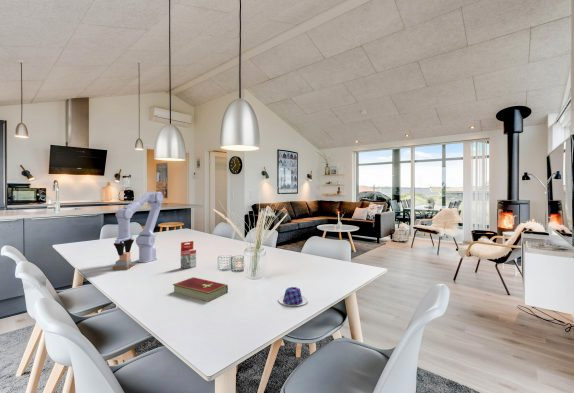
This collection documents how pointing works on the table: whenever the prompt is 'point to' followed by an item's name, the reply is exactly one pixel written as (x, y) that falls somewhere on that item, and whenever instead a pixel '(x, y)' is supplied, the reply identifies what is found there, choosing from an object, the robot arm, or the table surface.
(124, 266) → the base block
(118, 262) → the top block
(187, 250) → the ink box
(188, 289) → the hardcover book
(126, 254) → the cube
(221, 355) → the table surface
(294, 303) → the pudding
